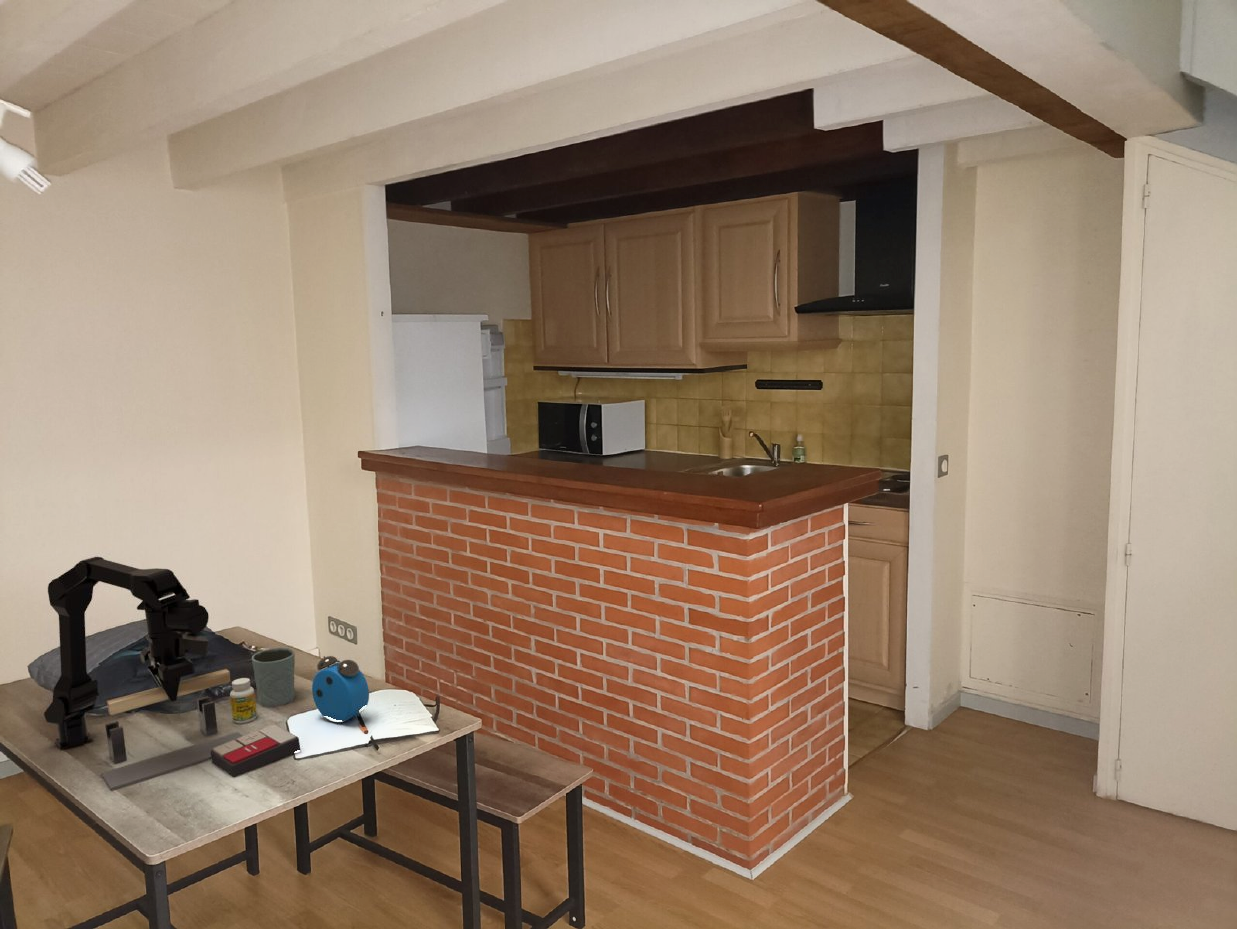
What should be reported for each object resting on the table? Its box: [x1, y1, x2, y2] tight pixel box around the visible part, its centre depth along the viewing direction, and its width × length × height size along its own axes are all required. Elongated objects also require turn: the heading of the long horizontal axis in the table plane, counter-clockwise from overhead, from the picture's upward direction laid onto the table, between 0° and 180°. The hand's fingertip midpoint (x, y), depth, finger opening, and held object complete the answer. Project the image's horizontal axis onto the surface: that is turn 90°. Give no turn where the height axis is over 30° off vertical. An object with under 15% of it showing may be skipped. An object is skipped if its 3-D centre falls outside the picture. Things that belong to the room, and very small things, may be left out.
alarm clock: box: [311, 655, 370, 722], centre depth 214 cm, size 13×6×15 cm, turn 60°
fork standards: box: [104, 696, 219, 765], centre depth 205 cm, size 5×21×8 cm, turn 130°
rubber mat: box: [100, 731, 243, 791], centre depth 197 cm, size 9×28×1 cm, turn 130°
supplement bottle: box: [229, 677, 258, 724], centre depth 217 cm, size 5×5×10 cm
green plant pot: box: [251, 647, 296, 708], centre depth 227 cm, size 10×10×12 cm
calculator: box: [210, 724, 301, 778], centre depth 197 cm, size 11×4×15 cm
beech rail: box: [106, 668, 232, 716], centre depth 196 cm, size 2×24×2 cm, turn 131°
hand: (171, 699), depth 196 cm, fingers closed on beech rail, 2 cm apart
